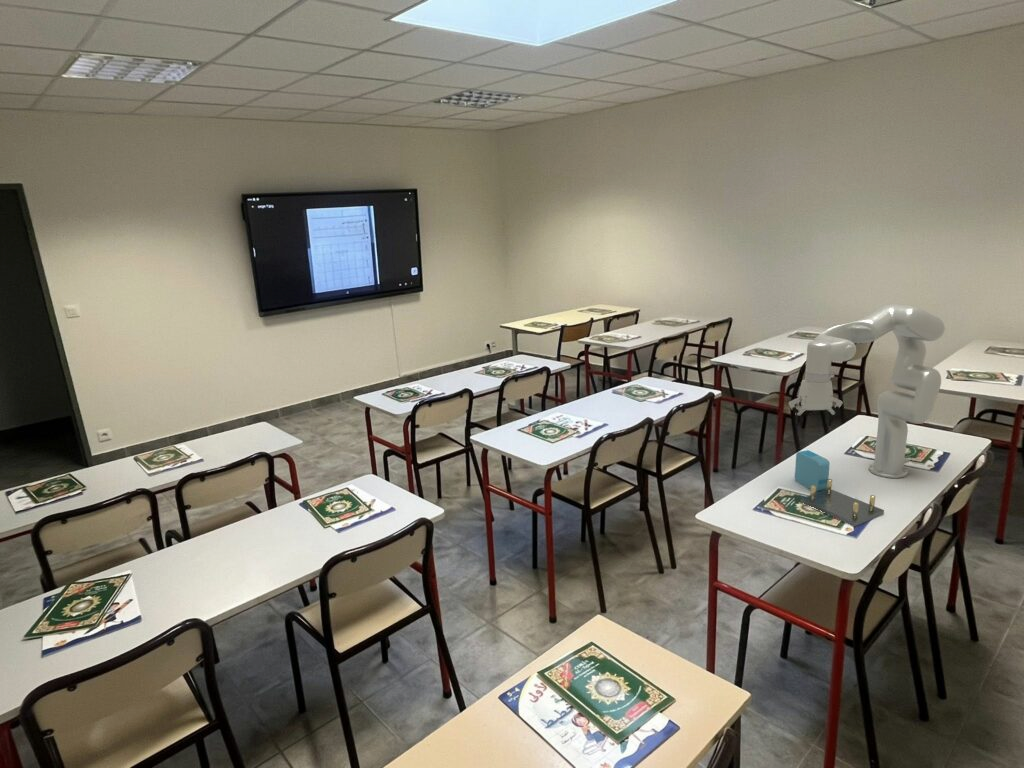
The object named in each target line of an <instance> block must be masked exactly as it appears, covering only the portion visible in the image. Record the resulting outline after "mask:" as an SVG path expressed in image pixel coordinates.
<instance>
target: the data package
mask: <svg viewBox="0 0 1024 768" xmlns="http://www.w3.org/2000/svg"><path fill="white" fill-rule="evenodd" d="M829 474H830V461H829V459H827V458H826V457H823V456H821V455H819V454H817V453H815V452H813V451H812V450H808V449H807V450H802V451H801V450H800V451H797V452H796V454H795V467H794V479H795V481H796V482H797V483H798V482H799V483H798V484H800V485H802V486H803V487H805V486H806V487H805V488H807V489H809V490H811V485H815V486H816V491H815V493H818V492H821V491H823V490H826V489H827V479H829Z"/></svg>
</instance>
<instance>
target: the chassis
mask: <svg viewBox="0 0 1024 768" xmlns="http://www.w3.org/2000/svg"><path fill="white" fill-rule="evenodd" d="M832 486H833V479H831V478H828V479H827V489H826V490H823V491H818V492H815V491H816V486H815V485H811V489H810V493H809V494H810V495H808V496H804V497H802V498H800V499H799V503H800V502H802V503H804V504H806V505H809V506H811V507H814V508H816V509H818V510H821V511H822V512H825V513H827V514H829V515H831V516H833V517H835V518H834V519H836V518H837V519H836V520H838V519H839V520H838V521H840V520H841V521H840V522H842V521H843V523H845V522H846V523H845V524H847V523H848V524H847V525H849V524H850V526H851V527H854V526H855V527H857V526H859V525H861V524H864V523H866V522H869V521H871V520H873V519H876V518H879V517H881V516H882V515H884V514H885V510H884V509H882V508H881V507H878V506H875V505H876V496H875V495H873V494H872V495H871V494H870V495H869V501H868V502H869V503H867V502H865V501H862V500H860V499H857V498H855V497H852V496H850V495H847V494H844V493H841V492H839V491H837V490H834V489H832V488H833V487H832ZM806 505H805V506H806ZM822 512H821V513H822ZM829 515H828V516H829ZM831 516H830V517H831ZM833 517H832V518H833Z"/></svg>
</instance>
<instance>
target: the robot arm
mask: <svg viewBox="0 0 1024 768" xmlns="http://www.w3.org/2000/svg"><path fill="white" fill-rule="evenodd" d="M891 331H892V332H893V334H894V335H895V338H896V340H897V344H898V351H897V353H896V357H895V359H894V364H893V367H892V369H891V370H892V371H891V374H890V378H889V380H890V383H891V384H892V386H894V387H897V388H899V389H901V390H902V389H903V390H905V391H911V392H915V395H913V394H910V393H907V392H901V391H898V390H886V391H883V392H881V394H879V396H878V398H877V402H876V403H877V404H876V407H877V415H878V420H877V433H876V439H875V440H876V441H875V450H874V452H875V453H874V461H873V462H872V463H871V464H869V465H868V470H869V472H870V473H872V474H873V475H877V476H879V477H882V478H889V479H900V478H905V477H907V476H908V473H909V472H908V469H907V468H905V464H907V463H909V462H910V459H909V458H908V457H906V456H905V455H906V447H907V440H908V439H907V438H908V434H909V433H908V431H909V430H908V423H907V422H909V423H911V424H912V423H913V424H916V425H918V424H919V425H922V424H924V423H925V422H927V421H928V420H929V418H930V417H931V415H932V412H933V410H934V406H935V404H936V401H937V399H938V395H939V392H940V390H941V389H940V388H941V385H942V376H941V373H940V372H939V370H937V369H936V368H933V367H929V366H925V365H924V362H925V359H926V358H925V357H926V355H927V349H926V344H925V343H924V341H926V342H935V341H937V340H940V338H941V337H942V336H944V335H943V334H944V333H945V322H944V321H943V320H942V319H941V318H940V317H938V316H936V315H934V314H933V313H931V312H928V311H927V310H924V309H922V308H920V307H918V306H917V307H916V306H913V305H904V304H903V305H902V304H896V303H892V304H891V303H890V304H886V305H884V306H882V307H880V308H879V309H877V310H875V311H873V312H871V313H870V314H868V315H866V316H864V317H863V318H861V319H859V320H855V321H851V322H846V323H843V324H839V325H835V326H832V327H830V328H827V329H826V330H824V331H822V332H821V333H818V334H817V336H816V337H814V339H813V340H812V341H809V342H808V344H807V347H806V359H805V360H806V361H805V362H806V363H805V375H804V376H805V377H804V379H802V380H801V382H800V387H799V390H798V392H799V393H798V396H797V398H794V399H792V400H790V401H788V405H789V407H790V409H791V411H793V412H794V413H795V423H796V425H797V426H799V427H802V426H803V415H802V414H803V413H804V412H805V411H827V412H826V415H825V424H826V425H827V426H828V427H829V426H830V427H831V426H832V423H833V422H834V415H836V412H838V411H839V410H840V407H841V406H842V405H843V403H844V402H843V401H842V400H840V399H839V398H836V397H834V389H833V383H832V380H831V378H834V377H835V373H832V372H831V369H832V368H831V367H832V362H847V361H849V360H851V359H852V358H854V357H855V355H856V354H857V346H856V344H863V343H872V342H875V341H876V340H878V339H880V338H881V337H883V336H885V335H886V334H888V333H890V332H891ZM834 403H835V405H833V404H834ZM795 405H798V407H796V406H795Z"/></svg>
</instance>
